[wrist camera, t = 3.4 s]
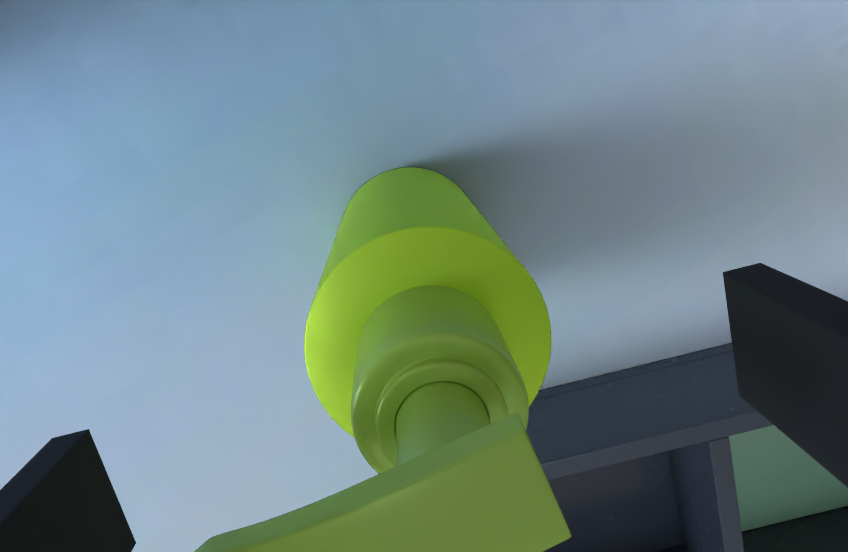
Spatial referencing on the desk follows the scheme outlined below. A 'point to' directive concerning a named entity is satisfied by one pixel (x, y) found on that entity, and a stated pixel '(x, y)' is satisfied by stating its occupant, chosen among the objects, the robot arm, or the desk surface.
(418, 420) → the soap dispenser
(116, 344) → the desk surface
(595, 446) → the rack
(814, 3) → the desk surface
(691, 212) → the desk surface
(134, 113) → the desk surface
